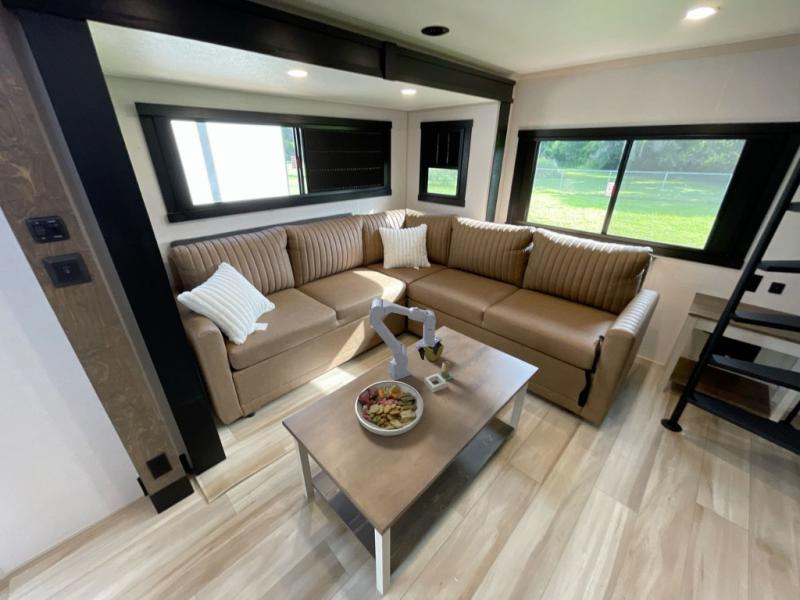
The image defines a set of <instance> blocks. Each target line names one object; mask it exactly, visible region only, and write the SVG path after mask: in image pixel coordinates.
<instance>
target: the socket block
mask: <svg viewBox="0 0 800 600" xmlns="http://www.w3.org/2000/svg"><path fill="white" fill-rule="evenodd" d="M436 381H437V384H434V383H432V382H436ZM423 383H424V384H425V385H426V387H427V388H428V389H429V390H430V391H431V392H432V393H435V392H439V391H441V390H443V389H446V388H447V385H448V382H447V381H445V380H444V379H443V378H442V377H441V376H440V375H439V373H438V372H437V373H434V374H432V375H429V376H426V377H424V381H423Z"/></svg>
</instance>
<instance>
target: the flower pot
mask: <svg viewBox="0 0 800 600" xmlns="http://www.w3.org/2000/svg"><path fill="white" fill-rule="evenodd" d="M423 348H424V350H425V354H424V358H426V359H428V360H429V361H431V362H434V361H436V360H438V359H439V358H440V357H441V356H442V354H443V351H444V348H445V345H444V344H443V343H441V347H440V348H439V350H438V352H437V355H436V356H435V355H434V354H433V347H431V346H429V347H423Z"/></svg>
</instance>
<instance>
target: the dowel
mask: <svg viewBox="0 0 800 600" xmlns="http://www.w3.org/2000/svg"><path fill="white" fill-rule="evenodd" d="M441 364H442V365H441V372H440V373H441V377H442V378H445V379H447V378H449V374H450V370H451V362H450V361H447V360H445V361H442V363H441Z"/></svg>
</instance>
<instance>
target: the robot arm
mask: <svg viewBox="0 0 800 600" xmlns="http://www.w3.org/2000/svg"><path fill="white" fill-rule="evenodd" d="M391 313H394V314H398V315H403V316H407V318H409V319H410V320H413V321H416V322H420V323H423V329H422V332H423V333H422V334H423V335H422V338H423V340H421V341H420V342H418V343H417V344H415V346H414V347H415V350H417V351H418V354H419V356H420V359H421V360H422V361H424V360H425V355H424V354H425V350H424V348H423V347H429V346H431V347H433V354H434V355H435V356H436V355H437V352H438V350H439V348H440V347H441V344H442V342H443V338H442V337H441V336H438V337H436V324H437V318H436V315H435V312H434V311H433V310H432V309H425V310H424V309H420V308H419V307H418V306H415V307H414V306H412V307H406V306H402V305H400V304H397V303H394V302H391V301H389V300H387V299H384V298H381V297H375V298H373V299H372V301H371V304H370V306H369V314H368V315H369V324H370V326H371V328H373V330H375V332H376V333H377V334H378V336H379V337H380V338H381V339H382V340H383V341H384V343H385V344H386V346H387V347H389V349H390V351H391V354H392V356H393V359H392V360H389V361H388V370H387V372H388V374H389V375H390V376H391V378H392V379H393V381H398V380H400V379H404V378H405V377H406V378H407V377H409V376H411V373H410V372H409V369H408V368H409V367H408V366H409V365H408V364H409V363H408V362H409V359H408V353H407V352H408V351H407V346H406V344H404V343H402V341H400V340H397V338H396V337H395V335H394V334H393V333H392V332H391V330H390V329H389V328H388V326H387V325H386V324H385V323H384V322H383V320H382V318H383V317H384V315H385V316H388V315H389V314H391Z"/></svg>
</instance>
